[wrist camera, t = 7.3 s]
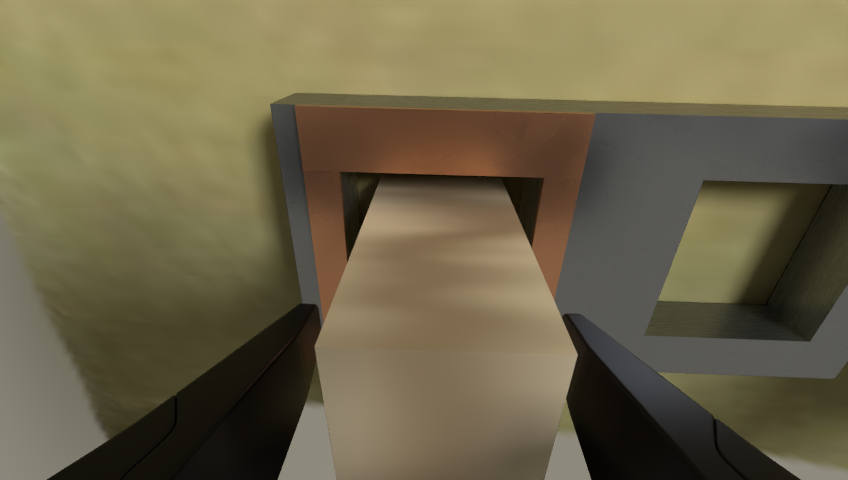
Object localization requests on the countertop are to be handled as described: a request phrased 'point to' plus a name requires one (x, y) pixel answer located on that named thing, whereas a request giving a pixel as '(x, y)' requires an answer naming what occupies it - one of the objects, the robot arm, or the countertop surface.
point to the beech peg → (443, 340)
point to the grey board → (595, 208)
